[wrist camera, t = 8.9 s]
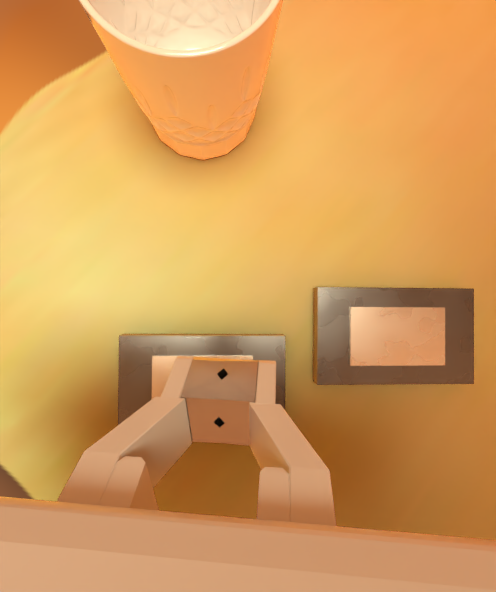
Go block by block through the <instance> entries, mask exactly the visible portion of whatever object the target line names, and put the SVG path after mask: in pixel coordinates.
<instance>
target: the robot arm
mask: <svg viewBox="0 0 496 592" xmlns="http://www.w3.org/2000/svg"><path fill="white" fill-rule="evenodd" d="M275 399H276V361H268V360H239V359H219V358H205V357H187V356H178V357H177V358H176V359H175V361H174V364H173V366H172V369H171V371H170V374H169V376H168V379H167V381H166V384H165V387H164V389H163V392H162V394H161V397H154V398H153V399H152V400H150V401H149V402H148V403H147V404H145V405H144V406H143V407H141V408H140V409H139V410H137V411H136V412H135V413H133V414H132V415H131V416H130V417H128V418H127V419H126V420H124V421H123V422H122V423H120V424H119V425H118V426H116V427H115V428H114V429H113V430H111V431H110V432H109V433H107V434H106V435H105V436H103V437H102V438H101V439H100V440H98V441H97V442H96V443H94V444H93V445H92V446H90V447H89V448H88V449H86V450H85V451H84V452H83V454H82V456H81V458H80V460H79V462H78V463H77V465H76V467H75V469H74V471H73V473H72V474H71V476H70V478H69V480H68V482H67V484H66V485H65V487H64V489H63V491H62V493H61V494H60V496H59V498H58V500H57V501H45V500H34V499H23V498H11V497H0V592H496V540H489V539H478V538H466V537H455V536H444V535H432V534H421V533H410V532H398V531H387V530H375V529H364V528H353V527H341V526H336V518H335V510H334V502H333V494H332V486H331V478H330V470H329V469H328V468H327V466H326V465H325V464H324V462H323V461H322V460H321V458H320V457H319V456H318V454H317V453H316V452H315V450H314V449H313V447H312V446H311V445H310V443H309V442H308V441H307V439H306V438H305V437H304V435H303V434H302V433H301V431H300V430H299V429H298V427H297V426H296V425H295V423H294V422H293V420H292V419H291V418H290V416H289V415H288V414H287V412H286V411H285V410H284V408H283V407H282V406H281V404H275ZM192 442H211V443H227V444H237V445H247V446H250V449H251V451H252V453H253V455H254V457H255V459H256V461H257V463H258V465H259V467H260V469H261V471H260V478H259V492H258V506H257V519H251V518H239V517H228V516H217V515H205V514H194V513H182V512H171V511H159V508H158V505H157V501H156V498H155V494H154V491H153V488H154V487H155V486H156V485H157V483H158V482H159V481H160V480H161V479H162V478H163V476H164V475H165V474H166V473H167V472H168V471H169V470H170V468H171V467H172V466H173V465H174V464H175V463H176V461H177V460H178V459H179V458H180V457H181V456H182V455H183V453H184V452H185V451H186V450H187V449H188V448H189V446H190V445H191V444H192Z"/></svg>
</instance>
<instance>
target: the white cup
mask: <svg viewBox="0 0 496 592" xmlns="http://www.w3.org/2000/svg"><path fill="white" fill-rule="evenodd" d="M79 2H80V3H81V5H82V7H83V8H84V10H85V12H86V14H87V16H88V18H89V19H90V21H91V23H92V25H93V26H94V28H95V30H96V32H97V34H98V35H99V37H100V39H101V40H102V42H103V44H104V46H105V48H106V49H107V51H108V53H109V55H110V57H111V58H112V60H113V62H114V64H115V66H116V68H117V70H118V72H119V74H120V75H121V77H122V79H123V80H124V82H125V83H126V85H127V86H128V88H129V90H130V92H131V94H132V95H133V97H134V99H135V100H136V102H137V103H138V105H139V107H140V109H141V110H142V111H143V112H144V114H145V115H146V116H147V117H148V119H149V120H150V122H151V123H152V125H153V127H154V129H155V131H156V133H157V135H158V137H159V138H160V140H161V141H162V142H164V143H165V144H166V145H168V146H169V147H170V148H172V149H173V150H174V151H176V152H177V153H178V154H180V155H183V156H188V157H192V158H197V159H202V160H205V159H209V158H214V157H218V156H222V155H226V154H228V153H229V152H230V151H231V150H232V149H234V148H235V147H236V146H237V145H239V144H240V143H241V142H242V141H243V140H244V139H245V137H246V135H247V133H248V131H249V128H250V126H251V124H252V122H253V120H254V117H255V112H256V107H257V104H258V102H259V98H260V95H261V92H262V88H263V83H264V80H265V76H266V73H267V69H268V65H269V60H270V56H271V51H272V47H273V42H274V38H275V33H276V29H277V24H278V20H279V16H280V11H281V7H282V3H283V0H79Z"/></svg>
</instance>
